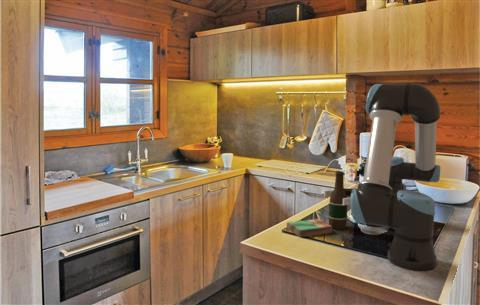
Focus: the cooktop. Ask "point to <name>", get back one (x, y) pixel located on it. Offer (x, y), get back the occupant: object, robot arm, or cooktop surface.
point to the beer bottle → (338, 204)
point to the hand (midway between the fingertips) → (333, 197)
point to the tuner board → (309, 227)
